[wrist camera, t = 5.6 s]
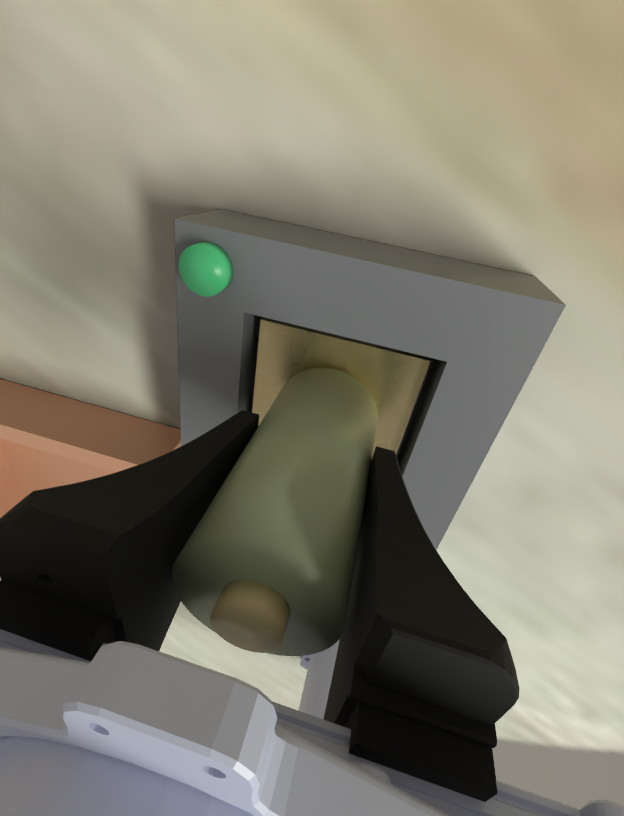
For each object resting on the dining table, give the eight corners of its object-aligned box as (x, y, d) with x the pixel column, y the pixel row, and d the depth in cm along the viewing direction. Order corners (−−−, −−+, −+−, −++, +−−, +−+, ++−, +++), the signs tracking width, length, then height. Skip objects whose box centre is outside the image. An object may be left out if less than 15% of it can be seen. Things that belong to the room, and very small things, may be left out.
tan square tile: (385, 479, 18) (384, 488, 17) (253, 442, 18) (248, 450, 18) (430, 354, 14) (430, 361, 14) (265, 314, 15) (260, 319, 14)
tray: (191, 571, 29) (166, 614, 26) (33, 521, 30) (-5, 556, 27) (188, 431, 22) (155, 470, 19) (-18, 373, 23) (-76, 401, 20)
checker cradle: (428, 506, 21) (429, 573, 17) (213, 445, 22) (176, 497, 18) (535, 276, 14) (572, 311, 11) (220, 208, 15) (163, 220, 12)
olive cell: (364, 466, 16) (321, 702, 9) (272, 440, 17) (161, 647, 9) (390, 383, 14) (361, 607, 7) (283, 356, 14) (151, 540, 7)
